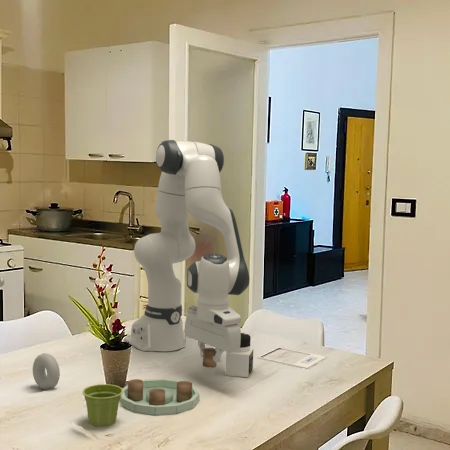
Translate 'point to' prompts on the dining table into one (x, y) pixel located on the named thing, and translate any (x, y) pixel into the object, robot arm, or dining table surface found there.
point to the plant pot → (102, 404)
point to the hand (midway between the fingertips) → (210, 359)
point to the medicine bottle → (240, 359)
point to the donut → (40, 375)
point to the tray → (159, 408)
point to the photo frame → (303, 363)
